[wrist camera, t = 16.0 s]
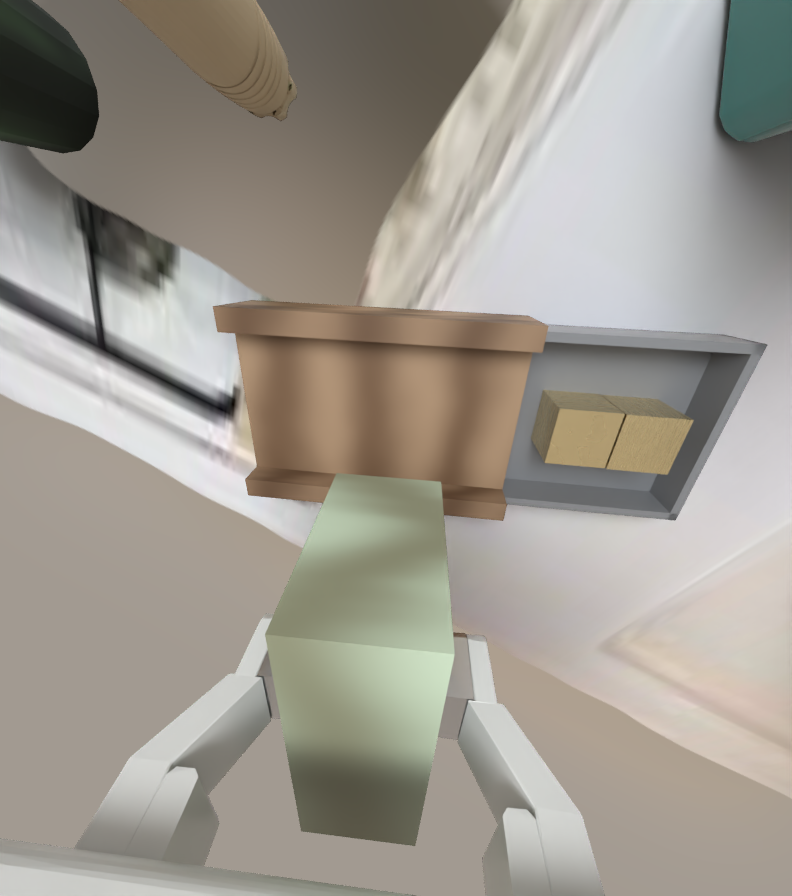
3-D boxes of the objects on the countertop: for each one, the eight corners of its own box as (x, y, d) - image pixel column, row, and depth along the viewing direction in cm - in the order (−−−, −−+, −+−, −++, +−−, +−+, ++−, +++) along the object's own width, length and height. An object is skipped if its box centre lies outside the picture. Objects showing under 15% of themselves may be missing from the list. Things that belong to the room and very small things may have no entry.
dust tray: (723, 334, 23) (767, 344, 20) (650, 494, 29) (675, 520, 26) (526, 323, 24) (539, 331, 21) (494, 479, 30) (501, 503, 27)
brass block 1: (598, 393, 25) (625, 413, 22) (582, 442, 27) (604, 468, 24) (543, 389, 26) (559, 408, 22) (530, 438, 27) (544, 462, 24)
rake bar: (441, 481, 10) (454, 654, 5) (418, 656, 13) (415, 845, 9) (336, 473, 10) (264, 633, 5) (341, 648, 14) (301, 830, 9)
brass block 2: (600, 394, 25) (657, 398, 25) (584, 443, 27) (637, 447, 27) (627, 414, 22) (693, 420, 22) (606, 469, 24) (667, 474, 23)
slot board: (528, 315, 24) (548, 325, 20) (493, 484, 30) (503, 520, 26) (251, 300, 26) (212, 306, 21) (274, 464, 32) (248, 495, 28)
